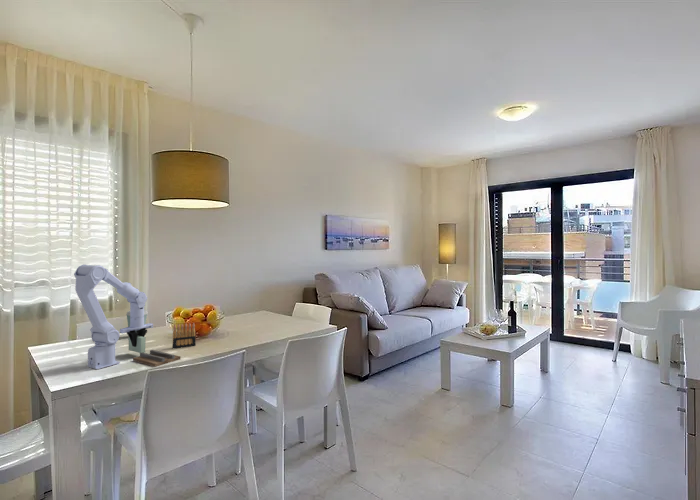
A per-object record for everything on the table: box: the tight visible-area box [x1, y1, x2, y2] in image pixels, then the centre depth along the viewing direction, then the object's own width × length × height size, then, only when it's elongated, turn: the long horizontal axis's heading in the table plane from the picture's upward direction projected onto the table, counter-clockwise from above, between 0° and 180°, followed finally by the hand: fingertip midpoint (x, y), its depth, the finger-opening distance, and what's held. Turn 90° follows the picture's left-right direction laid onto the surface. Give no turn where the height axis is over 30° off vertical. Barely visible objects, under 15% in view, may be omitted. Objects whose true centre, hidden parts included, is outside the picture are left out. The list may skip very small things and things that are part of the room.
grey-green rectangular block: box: [128, 336, 147, 354], centre depth 171 cm, size 2×10×7 cm, turn 62°
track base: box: [132, 349, 181, 368], centre depth 164 cm, size 12×16×3 cm
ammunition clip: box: [172, 322, 197, 349], centre depth 185 cm, size 11×2×12 cm, turn 120°
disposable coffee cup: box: [125, 309, 149, 327], centre depth 204 cm, size 11×11×15 cm
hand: (137, 345), depth 171 cm, fingers closed on grey-green rectangular block, 2 cm apart
